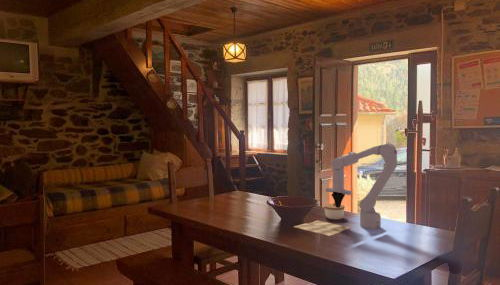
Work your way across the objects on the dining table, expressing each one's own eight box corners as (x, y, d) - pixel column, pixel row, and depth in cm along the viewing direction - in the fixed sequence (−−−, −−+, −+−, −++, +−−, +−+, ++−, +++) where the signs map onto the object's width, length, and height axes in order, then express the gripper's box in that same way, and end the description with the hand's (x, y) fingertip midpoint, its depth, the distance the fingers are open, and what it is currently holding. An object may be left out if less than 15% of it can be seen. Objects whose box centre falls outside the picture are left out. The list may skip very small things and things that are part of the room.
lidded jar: (321, 220, 212) (321, 203, 212) (327, 216, 222) (327, 200, 221) (341, 223, 207) (341, 205, 207) (346, 218, 217) (346, 201, 216)
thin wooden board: (342, 234, 187) (342, 231, 187) (329, 238, 180) (329, 235, 180) (306, 225, 203) (306, 223, 203) (293, 229, 196) (293, 226, 196)
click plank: (350, 229, 193) (350, 227, 193) (340, 233, 188) (340, 231, 188) (317, 222, 208) (317, 220, 208) (307, 225, 202) (307, 223, 202)
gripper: (354, 181, 199) (354, 208, 200) (331, 178, 210) (331, 203, 211) (346, 183, 195) (346, 210, 195) (323, 180, 205) (323, 205, 206)
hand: (338, 207), depth 203 cm, fingers closed
